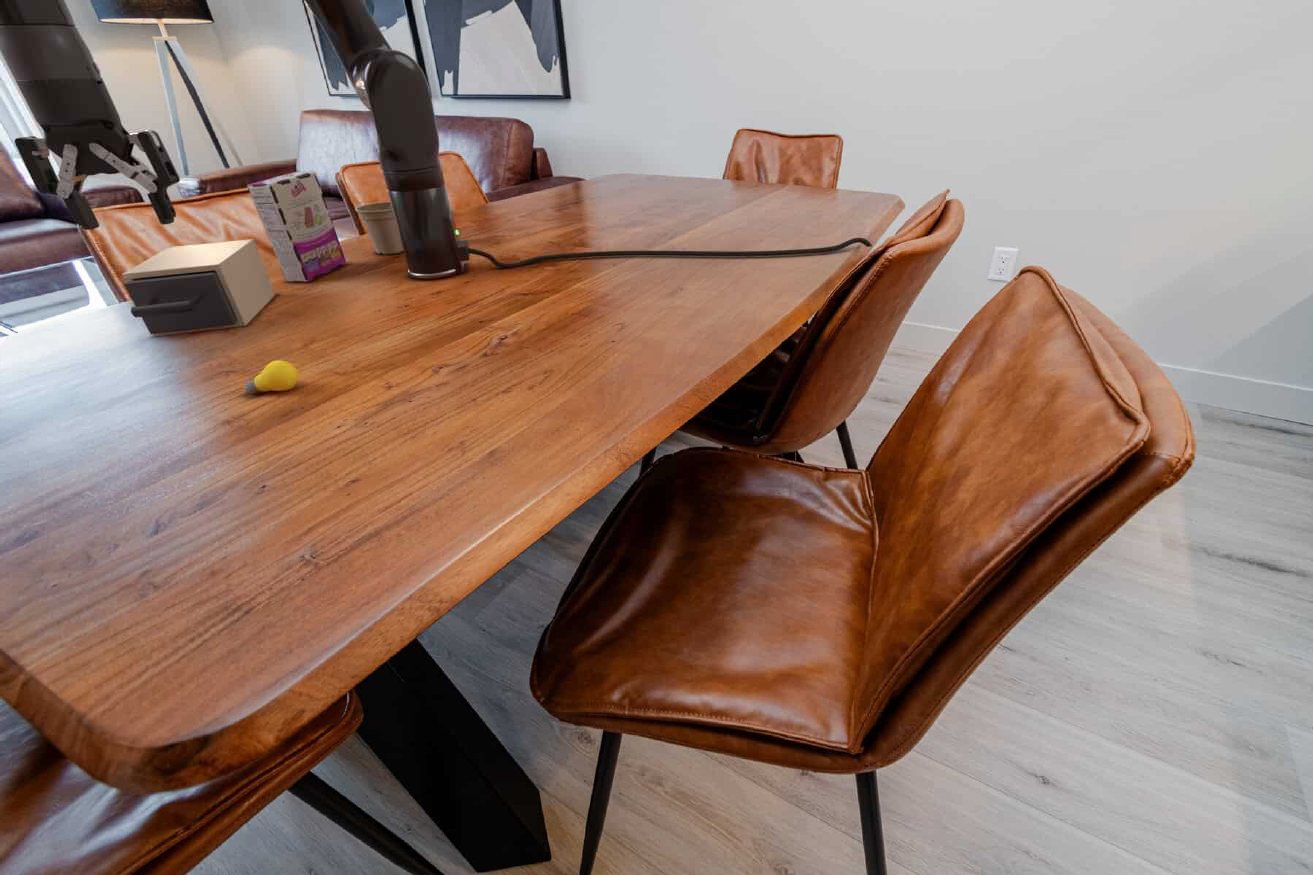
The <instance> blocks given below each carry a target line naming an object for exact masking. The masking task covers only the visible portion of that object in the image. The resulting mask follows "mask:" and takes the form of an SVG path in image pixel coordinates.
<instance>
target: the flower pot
mask: <svg viewBox="0 0 1313 875" xmlns="http://www.w3.org/2000/svg"><path fill="white" fill-rule="evenodd" d="M354 210H355V212H356V213H358V215H359V218H360V219H361V220H362V221H363V224H364V226H365V228H366V231H367V233H368V236H369V237H370V240H371V243H372V244H373V247H374V249H375V252H376V253H377V254H378V255H380V254H383V255H395V254H400V253H402V252H404V251H403V247H402V244H401V240H400V236H399V233H398V229H397V225H396V221H395V218H394V214H393V210H392V207H391V203H390V200H389V201H379V202H372V203H367V204H363V205H360V206H357V207H355V209H354Z"/></svg>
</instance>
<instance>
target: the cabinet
mask: <svg viewBox="0 0 1313 875" xmlns="http://www.w3.org/2000/svg"><path fill="white" fill-rule="evenodd" d="M214 270H216V273H217V275H218V278H219V280H220V282H221V284H222V287H223V289H224V291H225V293H226V296H227V298H228V300H229V302H230V305H231V307H232V309H233V311H234V314H235V317H236V320H237V323H236V324H235V325H227V326H218V327H210V328H201V329H193V330H184V331H176V332H167V333H159V334H153V336H154V337H162V336H170V335H179V334H186V333H187V334H188V333H196V332H203V331H204V332H205V331H211V330H212V331H213V330H219V329H220V330H221V329H229V328H237V327H238V328H239V327H246V326H247V325H248V324H249V323H250V322H251V321H252V320H253V319H254V318H255V317H256V316H257V314H259V313H260V312H261V311H262V309H263V308H264V307H265V306H266V305H268V303H269V302H270V301H271V300H272V299H273V298H274V297H275V296H276V292H275V289H274V286H273V283H272V281H271V279H270V277H269V274H268V271H267V269H266V266H265V264H264V262H263V259H262V257H261V254H260V251H259V249H258V247H257V244H256V242H255V239H254V238H251V239H239V240H238V239H237V240H230V241H219V242H209V243H198V244H197V243H196V244H189V245H187V244H186V245H178V246H169V247H168V248H166V249H164V250H162V251H160V252H158V253H157V254H155V255H152V256H151V257H150V258H148V259H145V260H144V261H142V262H141V263H139V264H137V265H135V266H133V267H132V268H130V269H128V270H126V271H125V272H123V273H121V276H122V278H123V280H124V281H125V283H126V282H128V281H136V280H139V279H141V278H146V277H156V276H166V275H175V274H185V273H195V272H205V271H214Z"/></svg>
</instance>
